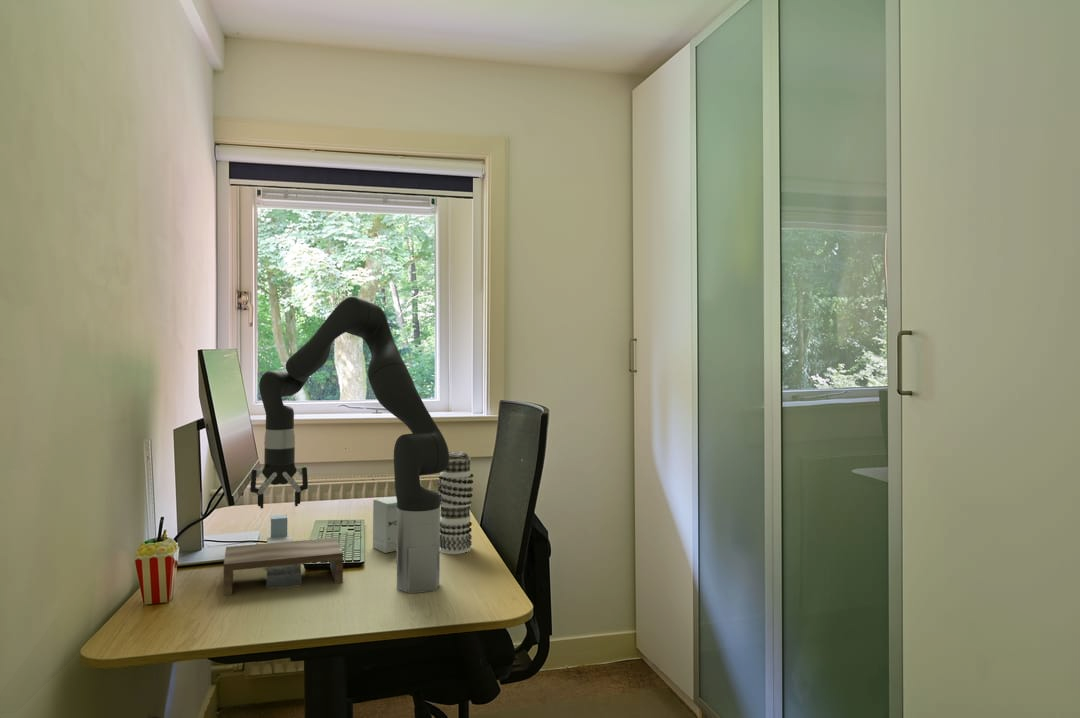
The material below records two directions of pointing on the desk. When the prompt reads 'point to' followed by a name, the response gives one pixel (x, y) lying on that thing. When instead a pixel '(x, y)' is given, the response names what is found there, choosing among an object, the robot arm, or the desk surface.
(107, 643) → the desk surface
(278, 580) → the grey flat block
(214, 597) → the desk surface
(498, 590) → the desk surface
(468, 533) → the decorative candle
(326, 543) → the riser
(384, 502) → the supplement box
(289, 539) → the grey bar
